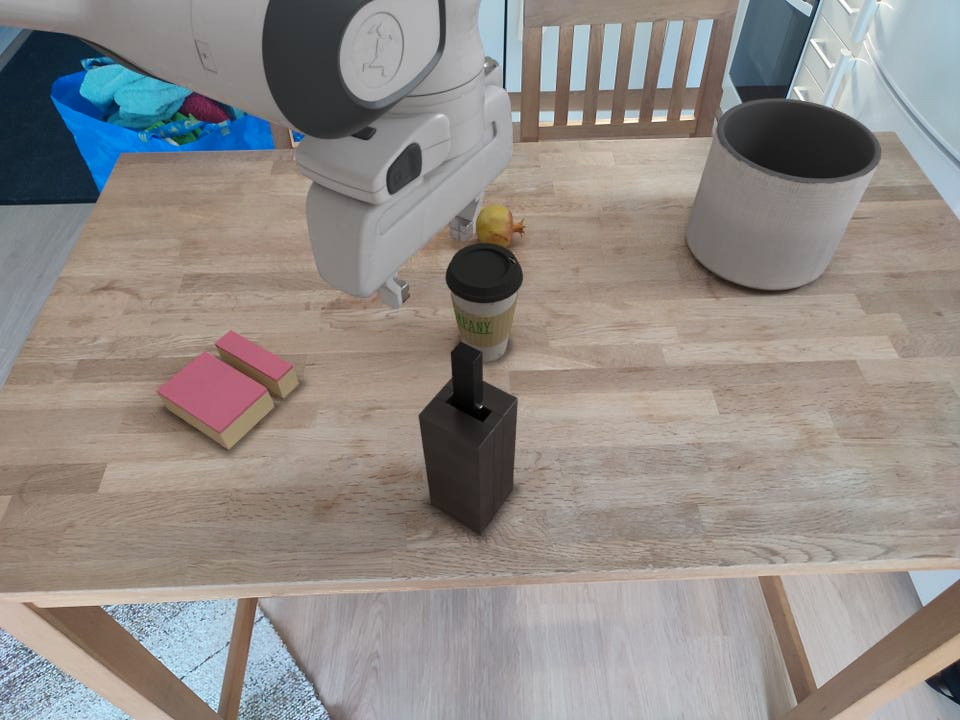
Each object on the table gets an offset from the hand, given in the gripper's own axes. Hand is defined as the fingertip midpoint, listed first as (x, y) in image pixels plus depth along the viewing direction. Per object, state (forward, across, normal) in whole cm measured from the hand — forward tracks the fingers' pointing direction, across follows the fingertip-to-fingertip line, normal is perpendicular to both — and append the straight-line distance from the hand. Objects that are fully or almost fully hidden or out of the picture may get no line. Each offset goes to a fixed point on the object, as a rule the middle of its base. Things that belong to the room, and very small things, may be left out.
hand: (430, 267), depth 54 cm
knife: (+33, 0, +4) cm, 33 cm away
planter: (+33, -61, +18) cm, 72 cm away
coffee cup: (+34, -21, -8) cm, 40 cm away
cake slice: (+34, 0, -31) cm, 46 cm away
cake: (+34, +7, -32) cm, 47 cm away
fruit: (+34, -41, -19) cm, 56 cm away
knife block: (+34, 0, +4) cm, 34 cm away
